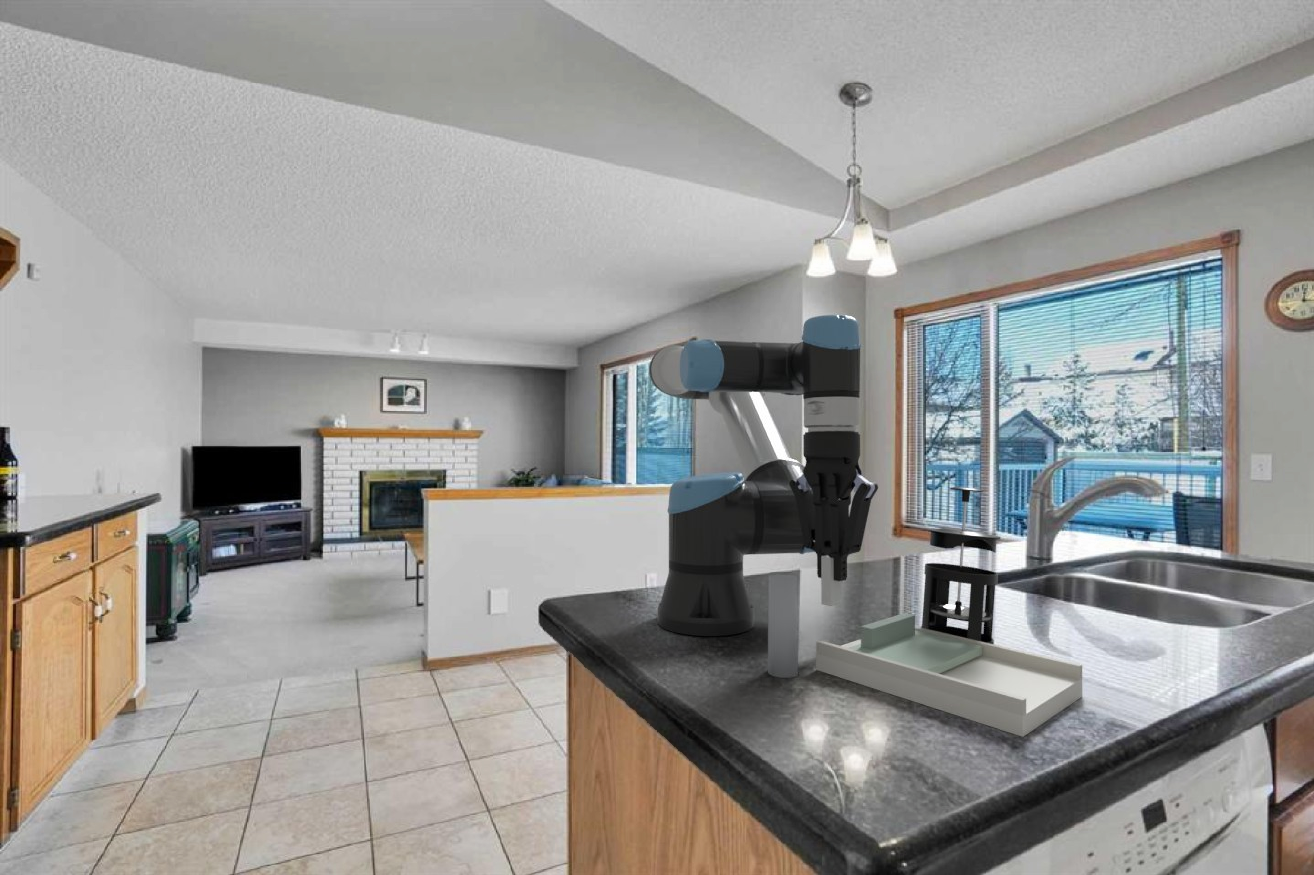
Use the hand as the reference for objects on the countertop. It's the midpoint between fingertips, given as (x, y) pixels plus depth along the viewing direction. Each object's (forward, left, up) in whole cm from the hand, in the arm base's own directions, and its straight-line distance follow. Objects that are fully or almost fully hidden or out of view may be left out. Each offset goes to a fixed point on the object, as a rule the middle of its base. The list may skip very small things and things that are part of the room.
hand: (832, 603), depth 89 cm
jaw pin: (+1, -12, -6) cm, 14 cm away
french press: (+11, +12, -7) cm, 18 cm away
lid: (+12, 0, -4) cm, 13 cm away
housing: (+15, 0, -6) cm, 17 cm away
